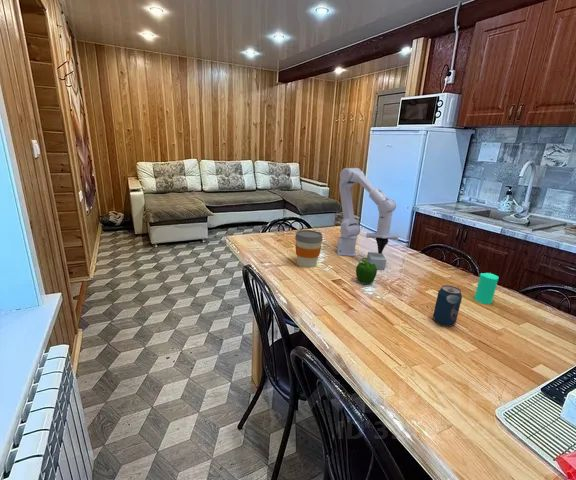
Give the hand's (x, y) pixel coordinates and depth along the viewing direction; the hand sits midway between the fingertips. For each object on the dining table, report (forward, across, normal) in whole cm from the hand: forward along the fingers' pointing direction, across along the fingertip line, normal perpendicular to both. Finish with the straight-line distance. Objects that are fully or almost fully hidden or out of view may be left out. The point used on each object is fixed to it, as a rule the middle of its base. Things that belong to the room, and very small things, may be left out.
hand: (379, 252), depth 150 cm
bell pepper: (+6, -10, -22) cm, 25 cm away
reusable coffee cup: (+6, -34, -7) cm, 36 cm away
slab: (+4, +2, 0) cm, 4 cm away
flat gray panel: (+6, -2, 0) cm, 6 cm away
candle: (+6, +34, -30) cm, 46 cm away
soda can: (+6, +12, -49) cm, 51 cm away
